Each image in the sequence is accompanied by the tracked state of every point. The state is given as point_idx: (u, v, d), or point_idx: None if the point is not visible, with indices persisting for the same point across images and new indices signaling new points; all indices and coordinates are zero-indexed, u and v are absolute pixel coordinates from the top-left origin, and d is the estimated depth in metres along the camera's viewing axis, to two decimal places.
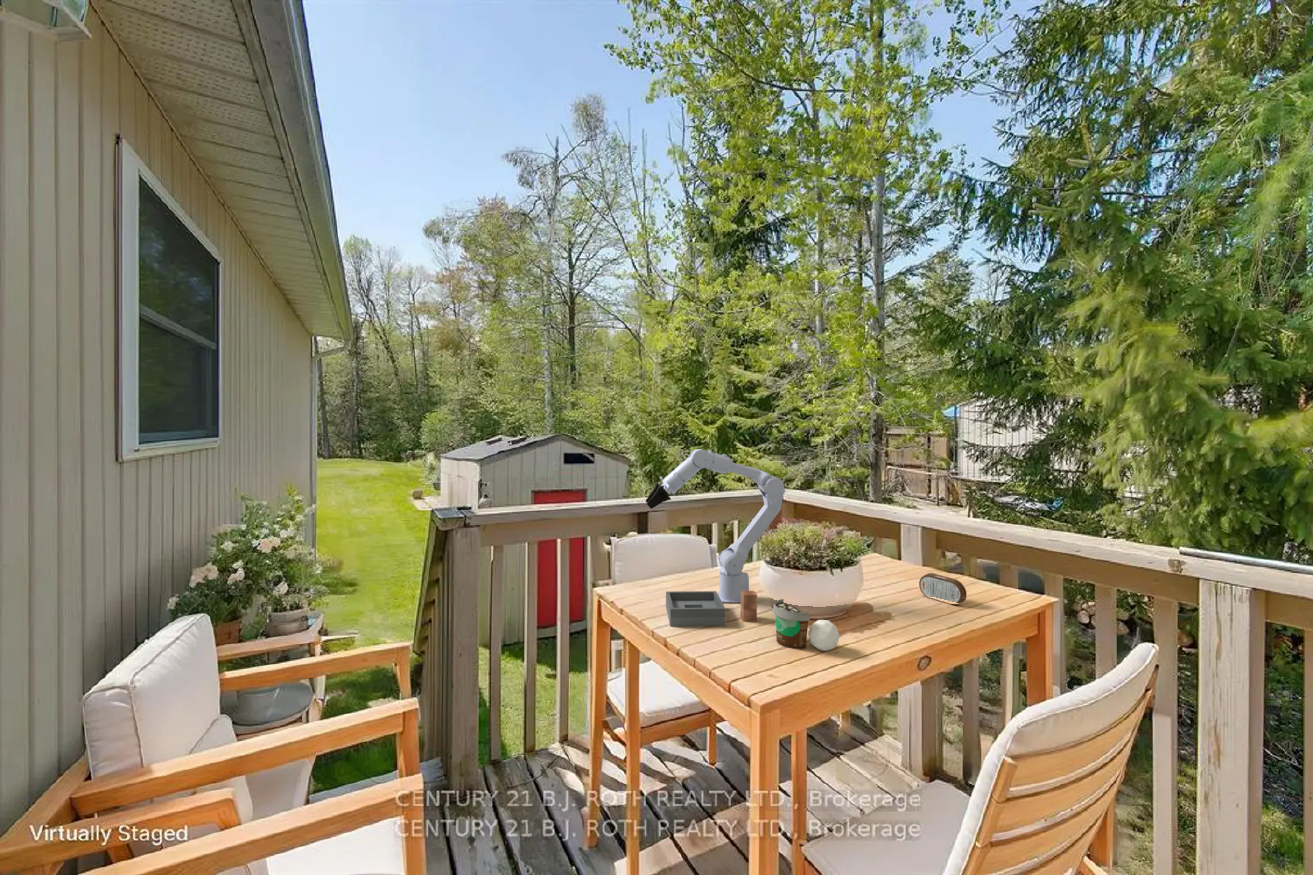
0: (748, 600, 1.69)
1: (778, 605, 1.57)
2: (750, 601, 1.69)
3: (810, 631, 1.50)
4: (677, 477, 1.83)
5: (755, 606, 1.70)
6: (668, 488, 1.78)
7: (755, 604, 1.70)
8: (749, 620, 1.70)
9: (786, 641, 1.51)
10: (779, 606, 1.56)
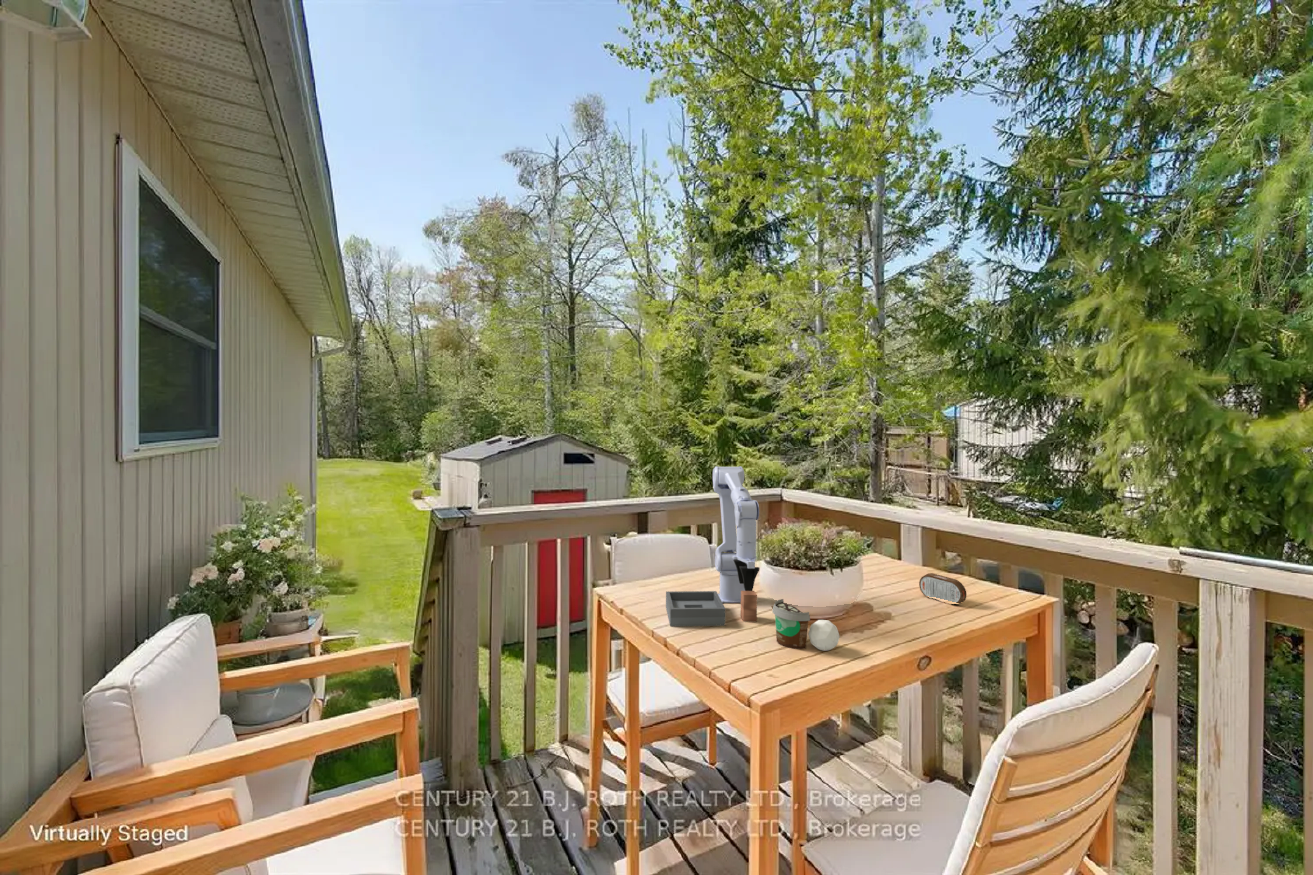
0: (748, 600, 1.69)
1: (778, 605, 1.57)
2: (750, 601, 1.69)
3: (810, 631, 1.50)
4: (746, 545, 1.67)
5: (755, 606, 1.70)
6: (749, 564, 1.63)
7: (755, 604, 1.70)
8: (749, 620, 1.70)
9: (786, 641, 1.51)
10: (779, 606, 1.56)
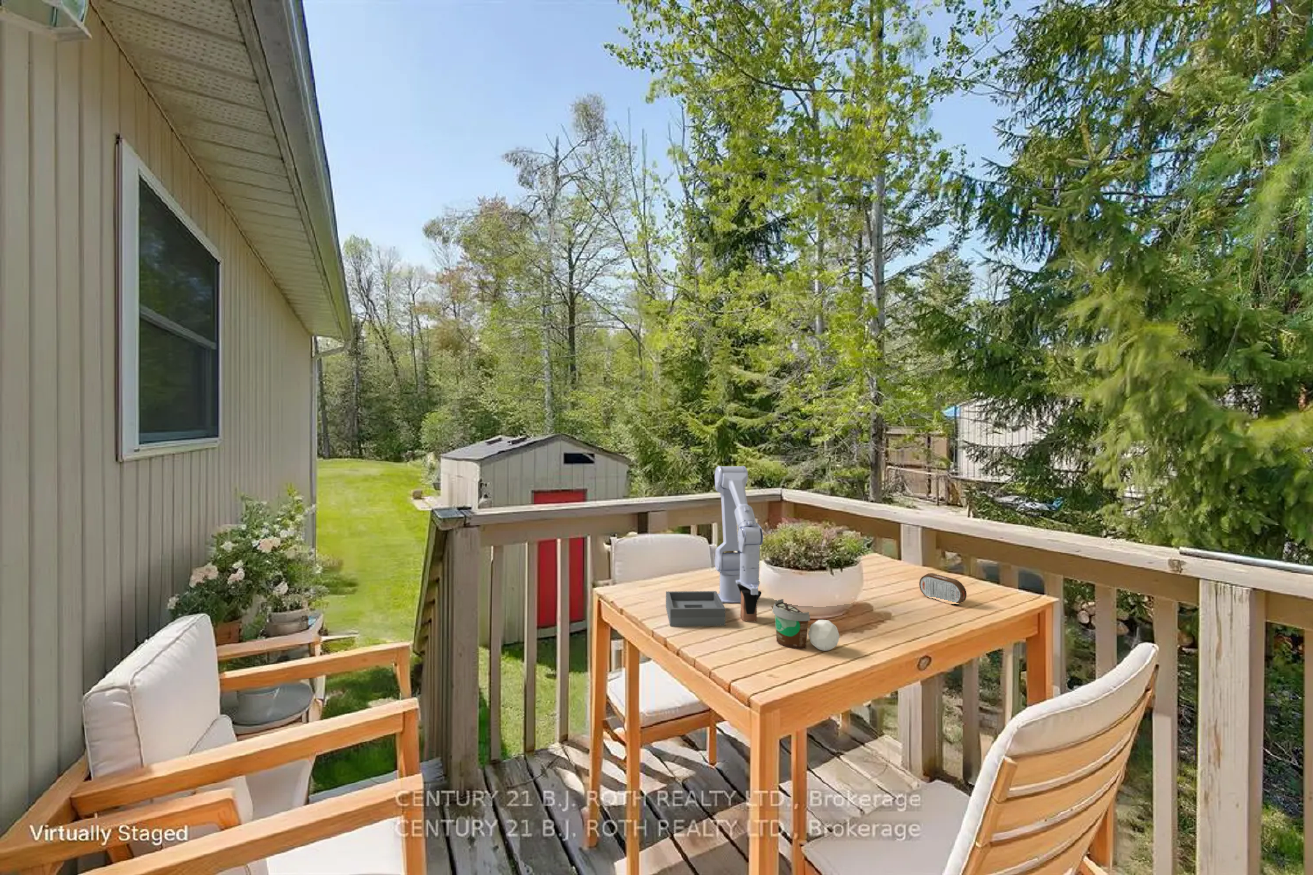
0: None
1: (778, 605, 1.57)
2: None
3: (810, 631, 1.50)
4: (749, 571, 1.68)
5: None
6: (752, 590, 1.64)
7: None
8: (749, 620, 1.70)
9: (786, 641, 1.51)
10: (779, 606, 1.56)
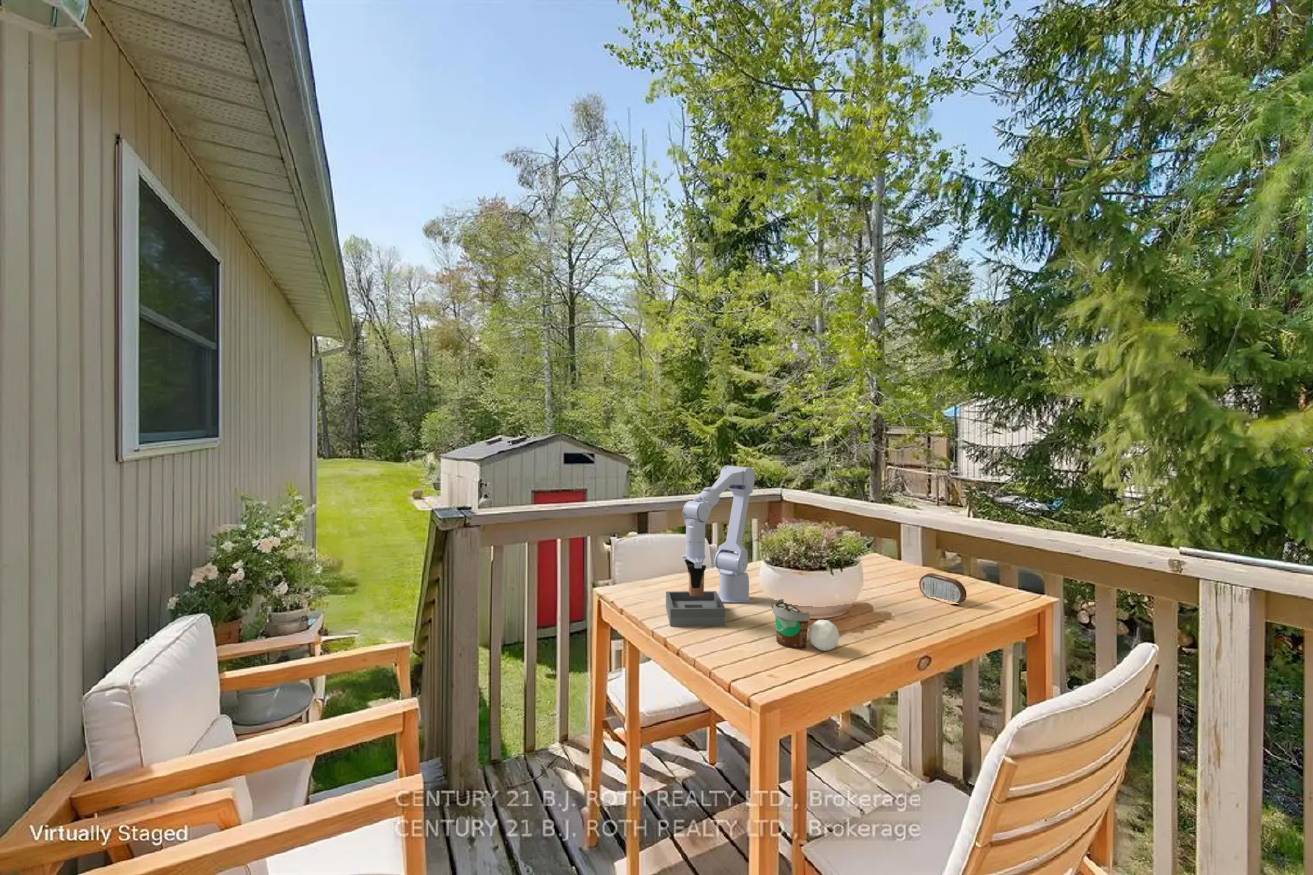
0: None
1: (778, 605, 1.57)
2: None
3: (810, 631, 1.50)
4: (694, 545, 1.70)
5: (702, 581, 1.71)
6: (696, 564, 1.66)
7: (702, 579, 1.71)
8: (696, 595, 1.71)
9: (786, 641, 1.51)
10: (779, 606, 1.56)
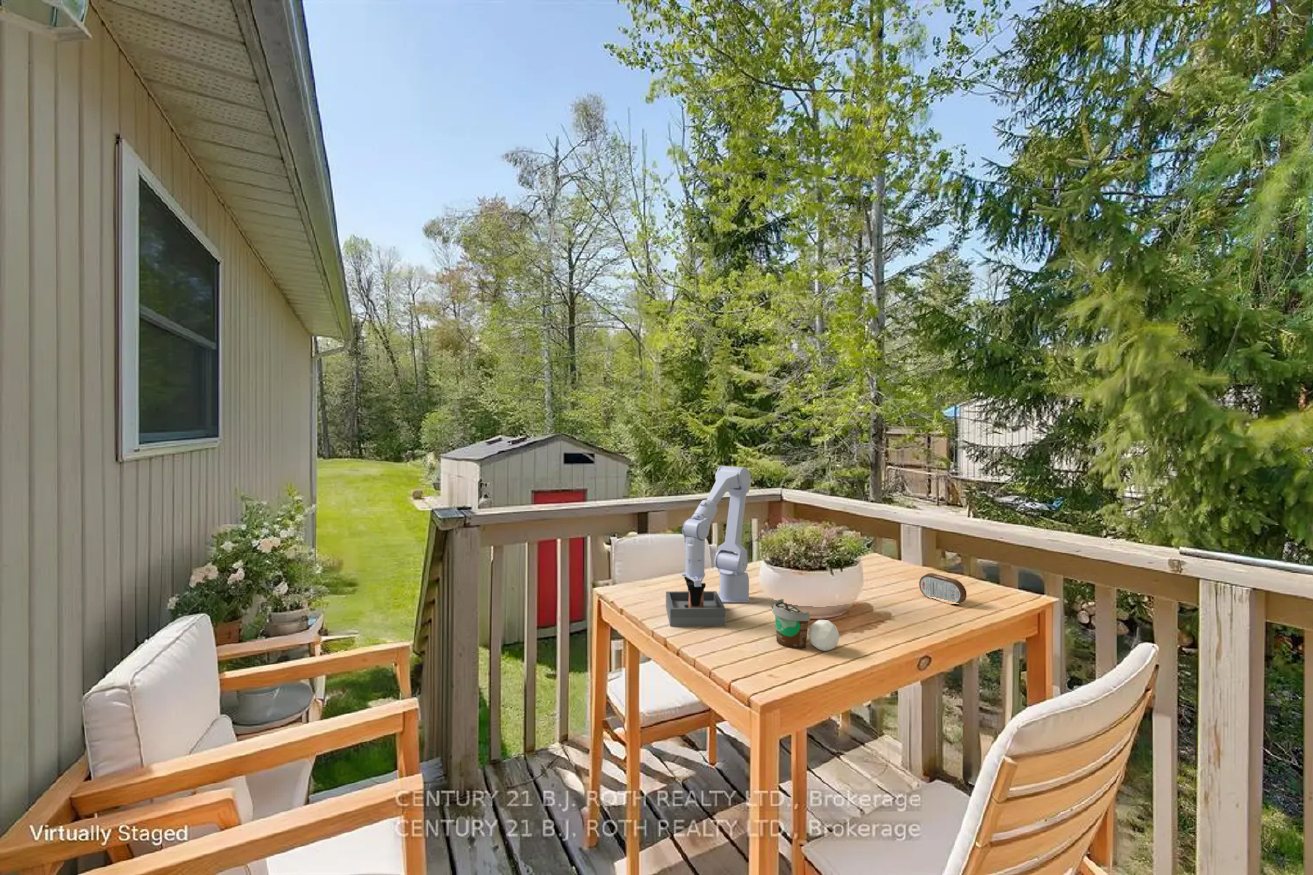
0: None
1: (778, 605, 1.57)
2: None
3: (810, 631, 1.50)
4: (694, 563, 1.70)
5: (702, 599, 1.71)
6: (696, 582, 1.66)
7: (702, 597, 1.71)
8: None
9: (786, 641, 1.51)
10: (779, 606, 1.56)
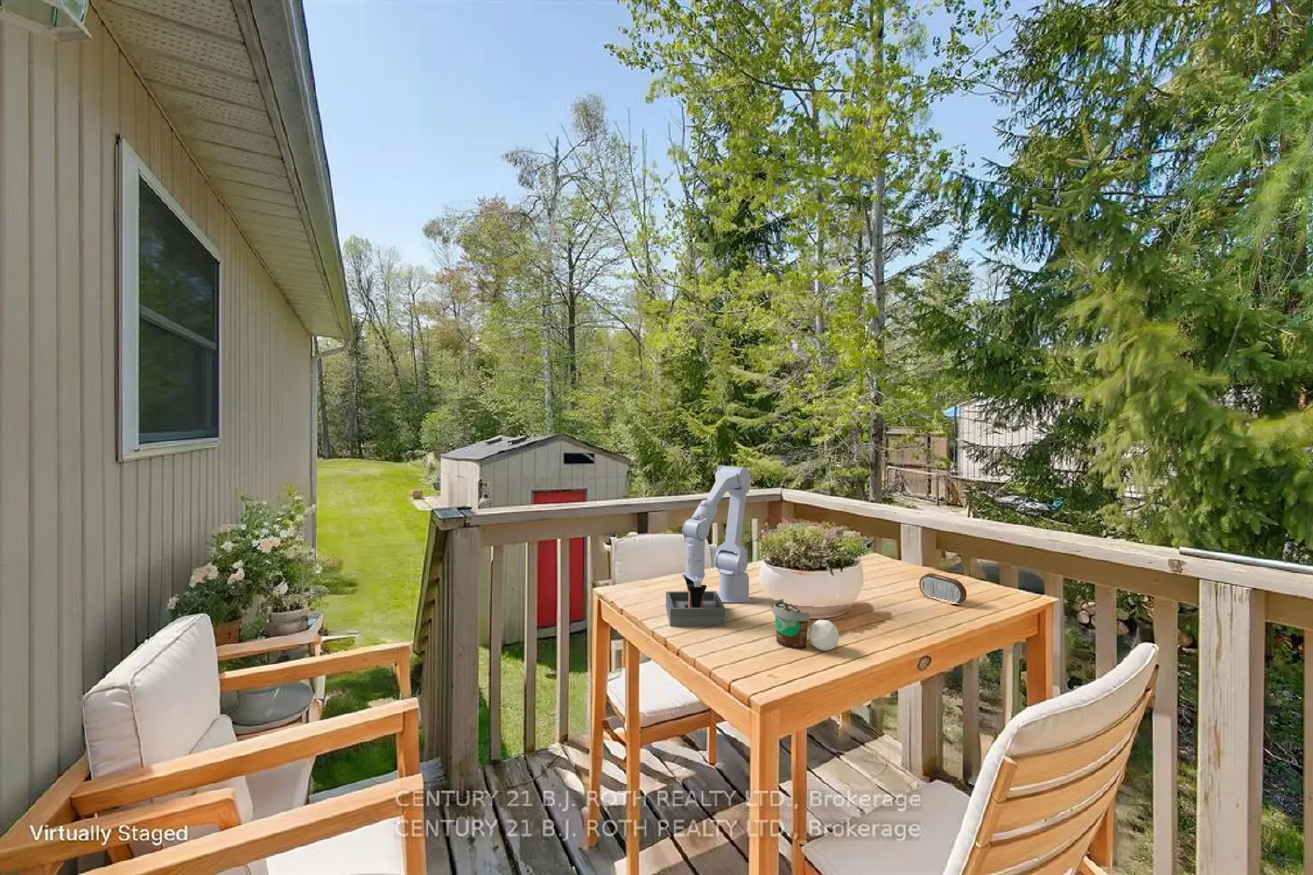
0: None
1: (778, 605, 1.57)
2: None
3: (810, 631, 1.50)
4: (694, 563, 1.70)
5: (701, 603, 1.72)
6: (696, 583, 1.66)
7: (701, 601, 1.72)
8: None
9: (786, 641, 1.51)
10: (779, 606, 1.56)
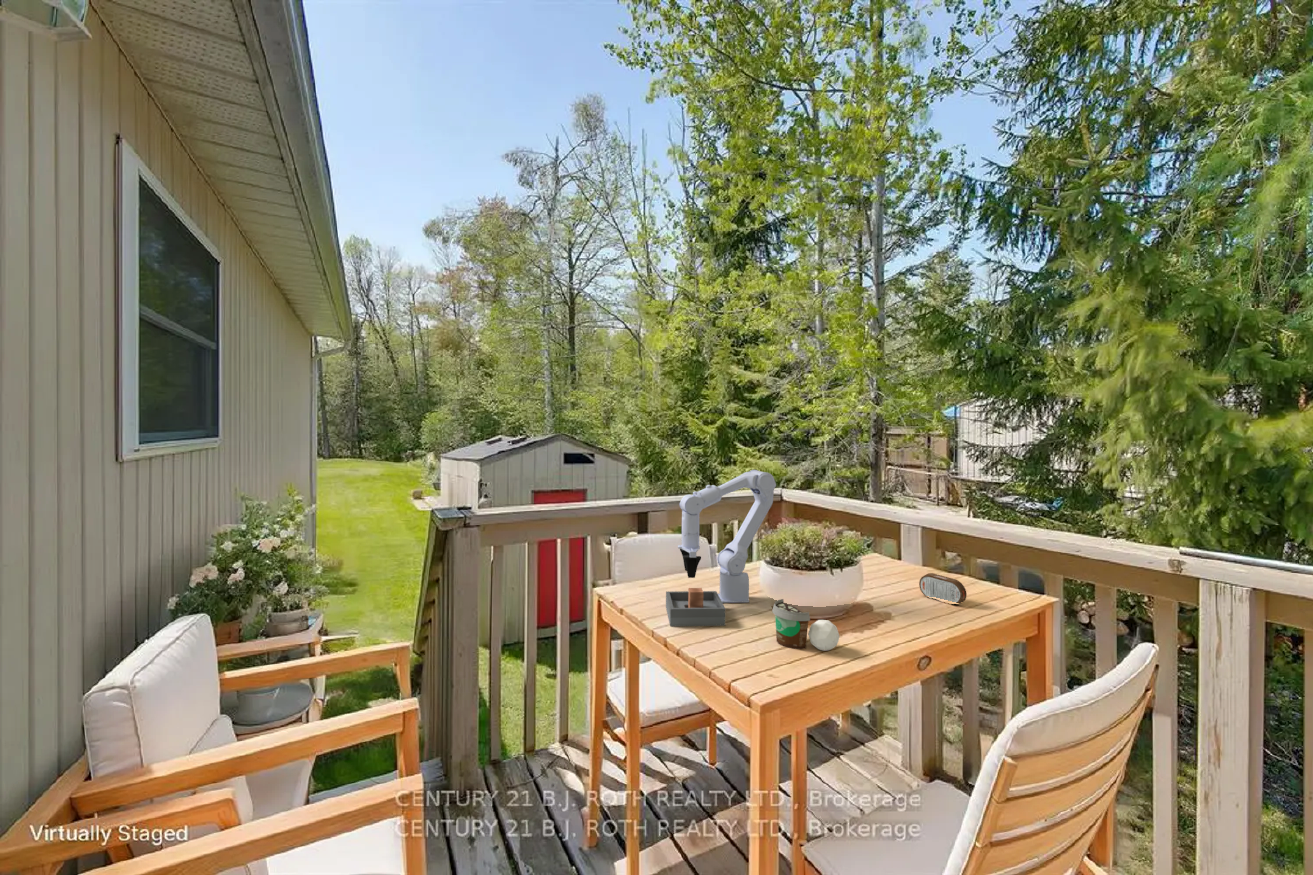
0: (695, 598, 1.71)
1: (778, 605, 1.57)
2: (696, 598, 1.71)
3: (810, 631, 1.50)
4: (689, 536, 1.82)
5: (701, 603, 1.72)
6: (691, 553, 1.77)
7: (701, 601, 1.72)
8: None
9: (786, 641, 1.51)
10: (779, 606, 1.56)
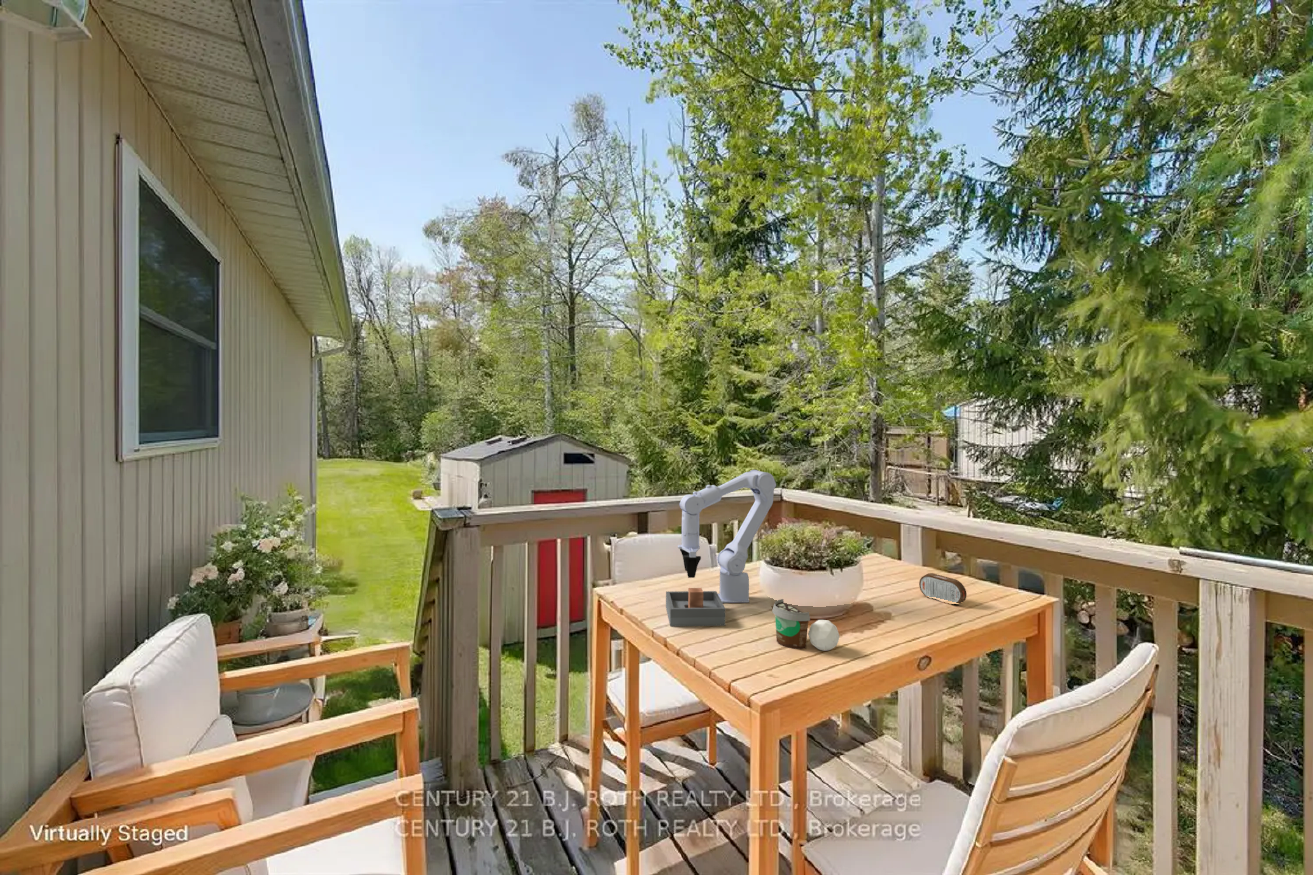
0: (695, 598, 1.71)
1: (778, 605, 1.57)
2: (696, 598, 1.71)
3: (810, 631, 1.50)
4: (689, 536, 1.82)
5: (701, 603, 1.72)
6: (691, 553, 1.77)
7: (701, 601, 1.72)
8: None
9: (786, 641, 1.51)
10: (779, 606, 1.56)
